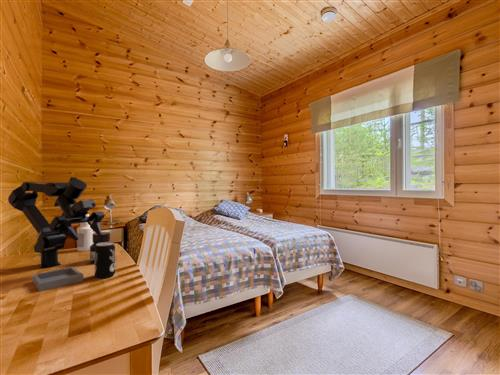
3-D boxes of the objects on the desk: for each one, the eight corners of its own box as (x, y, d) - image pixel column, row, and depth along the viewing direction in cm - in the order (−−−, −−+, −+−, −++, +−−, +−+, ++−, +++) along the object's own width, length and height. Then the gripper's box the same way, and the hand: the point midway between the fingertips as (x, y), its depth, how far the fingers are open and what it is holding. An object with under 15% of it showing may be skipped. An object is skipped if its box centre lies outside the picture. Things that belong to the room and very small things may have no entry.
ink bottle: (86, 260, 115) (86, 233, 115) (107, 256, 122) (107, 230, 122) (94, 265, 109) (94, 236, 109) (116, 260, 116) (116, 233, 116)
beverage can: (106, 280, 93) (106, 246, 92) (90, 278, 94) (90, 245, 94) (119, 273, 99) (119, 242, 99) (103, 272, 100) (103, 241, 100)
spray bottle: (81, 248, 137) (81, 213, 137) (95, 247, 138) (95, 213, 137) (74, 251, 130) (74, 215, 130) (88, 251, 131) (88, 215, 130)
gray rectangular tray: (32, 281, 90) (32, 274, 90) (73, 273, 99) (73, 266, 99) (39, 291, 82) (39, 283, 82) (83, 281, 91) (83, 274, 91)
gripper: (53, 193, 92) (75, 226, 88) (101, 192, 110) (121, 220, 105) (40, 214, 95) (59, 248, 91) (88, 210, 113) (107, 237, 109)
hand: (89, 237), depth 99 cm, fingers open, 9 cm apart
